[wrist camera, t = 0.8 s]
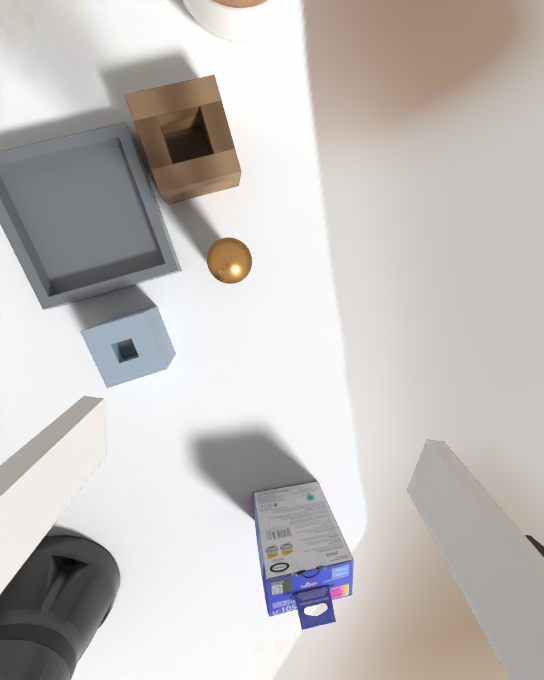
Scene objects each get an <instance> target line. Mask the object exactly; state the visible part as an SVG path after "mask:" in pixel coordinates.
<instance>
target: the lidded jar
mask: <svg viewBox="0 0 544 680" xmlns="http://www.w3.org/2000/svg"><path fill="white" fill-rule="evenodd" d="M183 2H184V4H185V6H186V7H187V9H188V10H189V12H190V13H191V15H192V16H193V17H194V19H195V20H196V21H197V22H198V23H199V24H200V25H201V26H202V27H203V28H204V29H205V30H207V31H208V32H209V33H210V34H212V35H214V36H215V37H217V38H220V39H222V40H226V41H231V42H239V41H245V40H247V39H250V38H252V37H254V36H256V35H257V34H259V33H260V32H261V31H262V30H263V29H264V28H265V27H266V26H267V25H268V24H269V23H270V21H271V20H272V19H273V17H274V15H275V13H276V11H277V10H278V8H279V6H280V4H281V2H282V0H183Z"/></svg>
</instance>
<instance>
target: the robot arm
mask: <svg viewBox="0 0 544 680" xmlns="http://www.w3.org/2000/svg"><path fill="white" fill-rule="evenodd" d="M106 456H107V448H106V427H105V406H104V399H103V398H96V397H88V396H84V397H82V398H81V399H80V400H79V401H78V402H76V403H75V404H74V405H73V406H72V407H70V408H69V409H68V410H67V411H66V412H64V413H63V414H62V415H61V416H60V417H58V418H57V419H56V420H55V421H54V422H52V423H51V424H50V425H49V426H48V427H46V428H45V429H44V430H43V431H41V432H40V433H39V434H38V435H37V436H35V437H34V438H33V439H32V440H31V441H29V442H28V443H27V444H26V445H25V446H23V447H22V448H21V449H20V450H19V451H17V452H16V453H15V454H14V455H13V456H11V457H10V458H9V459H8V460H7V461H5V462H4V463H3V464H2V465H1V466H0V680H71V678H72V675H73V673H74V670H75V667H76V665H77V662H78V661H79V659H80V658H81V656H82V655H83V653H84V652H85V650H86V648H87V647H88V645H89V643H90V642H91V640H92V638H93V637H94V635H95V633H96V631H97V629H98V628H99V627H100V626H101V625H102V624H103V622H104V621H105V619H106V618H107V616H108V615H109V613H110V611H111V609H112V607H113V604H114V601H115V598H116V595H117V592H118V589H119V585H120V573H119V569H118V566H117V564H116V562H115V560H114V559H113V557H112V556H111V555H110V554H109V553H108V552H107V551H106V550H105V549H103V548H102V547H100V546H99V545H97V544H95V543H93V542H90V541H88V540H85V539H81V538H77V537H69V536H53V537H46V538H44V536H45V535H46V534H47V533H48V531H49V530H50V529H51V527H52V526H53V525H54V523H55V522H56V521H57V520H58V518H59V517H60V516H61V514H62V513H63V512H64V510H65V509H66V508H67V507H68V505H69V504H70V503H71V501H72V500H73V499H74V497H75V496H76V495H77V493H78V492H79V491H80V490H81V488H82V487H83V486H84V484H85V483H86V482H87V480H88V479H89V478H90V477H91V475H92V474H93V473H94V471H95V470H96V469H97V467H98V466H99V465H100V464H101V462H102V461H103V460H104V458H105V457H106ZM407 492H408V494H409V495H410V497H411V499H412V501H413V503H414V505H415V506H416V508H417V510H418V512H419V514H420V516H421V518H422V519H423V521H424V523H425V525H426V527H427V529H428V530H429V532H430V534H431V536H432V538H433V540H434V542H435V544H436V545H437V547H438V549H439V551H440V553H441V555H442V556H443V558H444V560H445V562H446V564H447V566H448V568H449V569H450V571H451V573H452V575H453V577H454V579H455V580H456V582H457V584H458V586H459V588H460V590H461V592H462V594H463V595H464V597H465V599H466V601H467V603H468V604H469V606H470V608H471V610H472V612H473V614H474V616H475V618H476V619H477V621H478V623H479V625H480V627H481V629H482V631H483V632H484V634H485V636H486V638H487V640H488V642H489V643H490V645H491V647H492V649H493V651H494V653H495V654H496V656H497V658H498V660H499V662H500V664H501V666H502V668H503V669H504V671H505V673H506V675H507V677H508V679H509V680H544V547H543V546H542V545H541V544H540V543H538V542H537V541H536V540H535V539H534V538H532V537H531V536H529V535H524V534H523V533H522V532H521V530H520V529H519V528H518V527H517V526H516V525H515V523H514V522H513V521H512V520H511V519H510V518H509V516H508V515H507V514H506V513H505V512H504V511H503V509H502V508H501V507H500V506H499V505H498V504H497V503H496V501H495V500H494V499H493V498H492V497H491V495H490V494H489V493H488V492H487V491H486V490H485V488H484V487H483V486H482V485H481V484H480V483H479V481H478V480H477V479H476V478H475V477H474V476H473V474H472V473H471V472H470V471H469V470H468V469H467V467H466V466H465V465H464V464H463V463H462V462H461V460H460V459H459V458H458V457H457V456H456V455H455V453H454V452H453V451H452V450H451V449H450V448H449V446H448V445H447V444H446V443H445V442H443V441H435V440H428V439H427V440H426V442H425V445H424V447H423V450H422V452H421V455H420V458H419V460H418V463H417V465H416V468H415V471H414V473H413V476H412V478H411V481H410V483H409V486H408V488H407Z"/></svg>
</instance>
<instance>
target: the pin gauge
mask: <svg viewBox="0 0 544 680" xmlns="http://www.w3.org/2000/svg"><path fill="white" fill-rule="evenodd" d="M207 264H208V268H209V270H210V272H211V273H212V275H213V276H214V277H215V278H216V279H218V280H219V281H221V282H224V283H230V284H232V283H237V282H240V281H241V280H243V279H244V278H245V277H246V276H247V275H248V273H249V272H250V269H251V265H252V257H251V254H250V251H249V249H248V248H247V246H246V245H245V244H244V243H242V242H241V241H239V240H237V239H235V238H223V239H220V240H218V241H216V242H215V243H214V244H213V245H212V246H211V248H210V250H209V252H208V256H207Z"/></svg>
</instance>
